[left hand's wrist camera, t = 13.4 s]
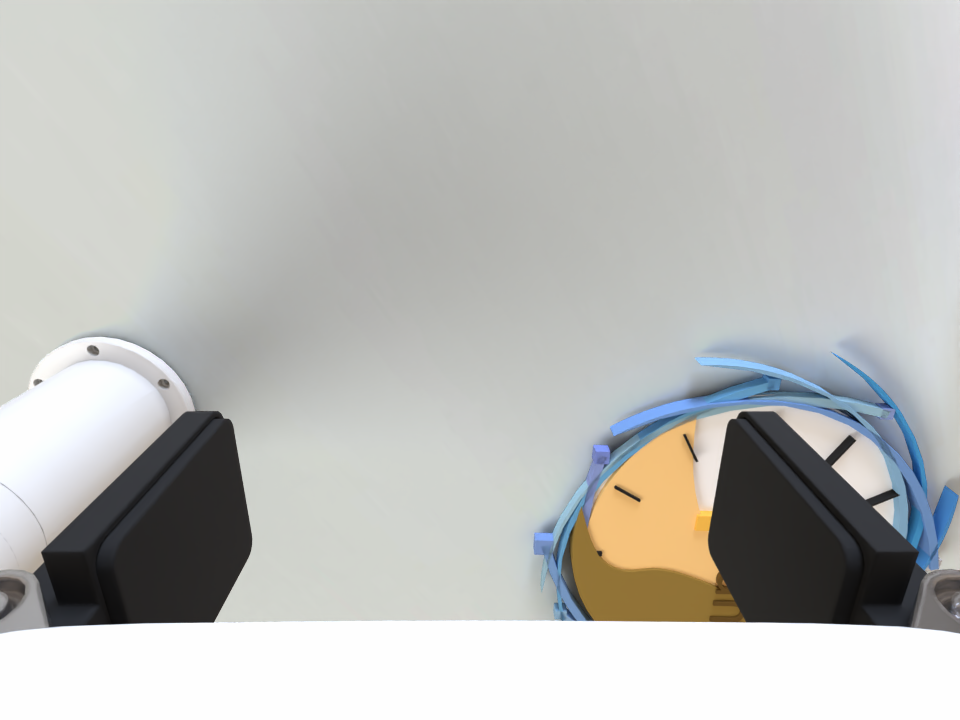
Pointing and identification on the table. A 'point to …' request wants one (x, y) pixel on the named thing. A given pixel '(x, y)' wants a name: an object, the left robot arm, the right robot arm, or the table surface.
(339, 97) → the table surface
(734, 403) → the clock
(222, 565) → the left robot arm
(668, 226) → the table surface
